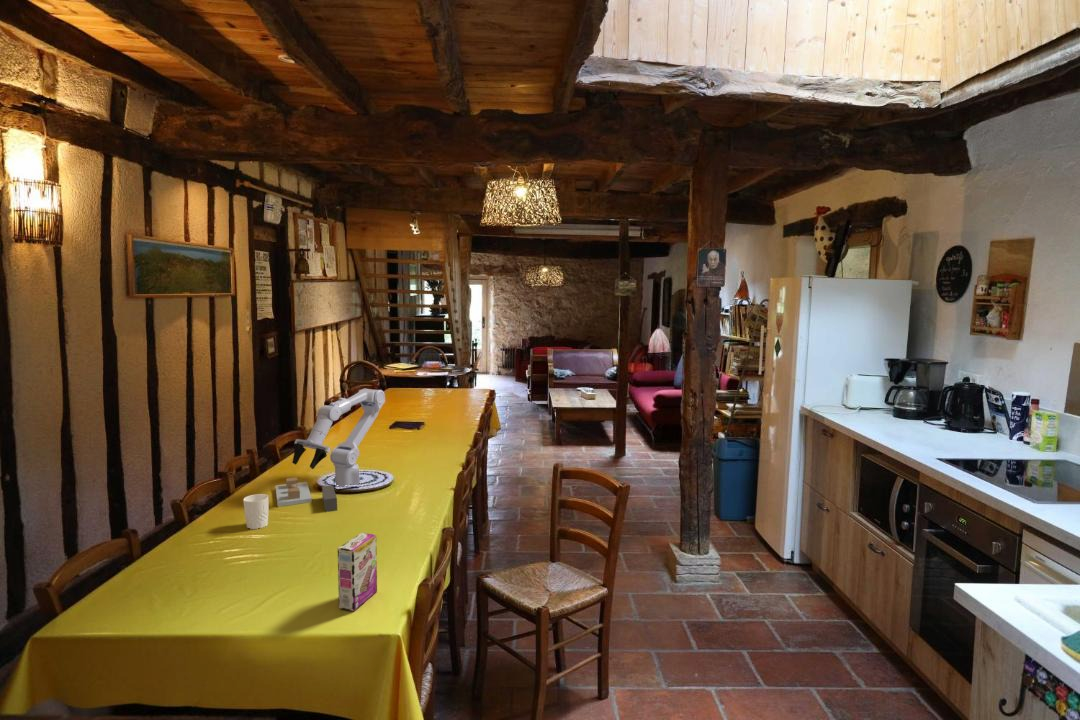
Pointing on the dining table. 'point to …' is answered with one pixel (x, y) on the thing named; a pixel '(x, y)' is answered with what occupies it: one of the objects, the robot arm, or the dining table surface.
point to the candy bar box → (357, 571)
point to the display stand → (293, 493)
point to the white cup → (256, 510)
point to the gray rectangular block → (329, 498)
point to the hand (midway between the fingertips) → (302, 465)
